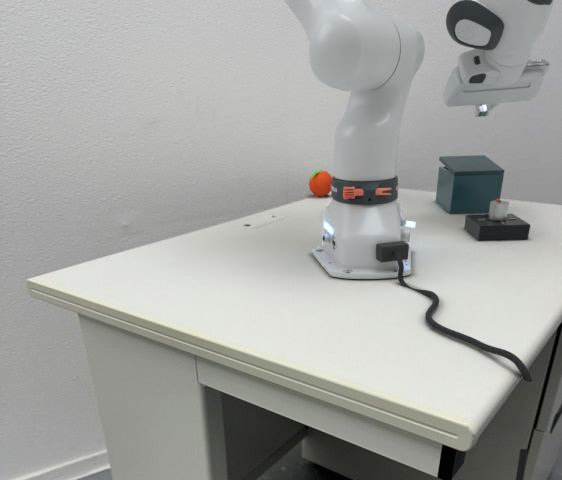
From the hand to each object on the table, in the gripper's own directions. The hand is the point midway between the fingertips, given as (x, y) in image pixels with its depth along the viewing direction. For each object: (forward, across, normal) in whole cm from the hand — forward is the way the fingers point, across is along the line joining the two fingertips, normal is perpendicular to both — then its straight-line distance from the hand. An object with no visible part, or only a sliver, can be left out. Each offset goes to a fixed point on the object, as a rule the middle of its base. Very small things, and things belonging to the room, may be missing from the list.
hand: (480, 114), depth 125 cm
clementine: (+32, +35, -4) cm, 47 cm away
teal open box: (+18, 0, +12) cm, 22 cm away
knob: (-3, +3, +30) cm, 30 cm away
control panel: (0, +3, +32) cm, 32 cm away
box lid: (+11, 0, +5) cm, 13 cm away
